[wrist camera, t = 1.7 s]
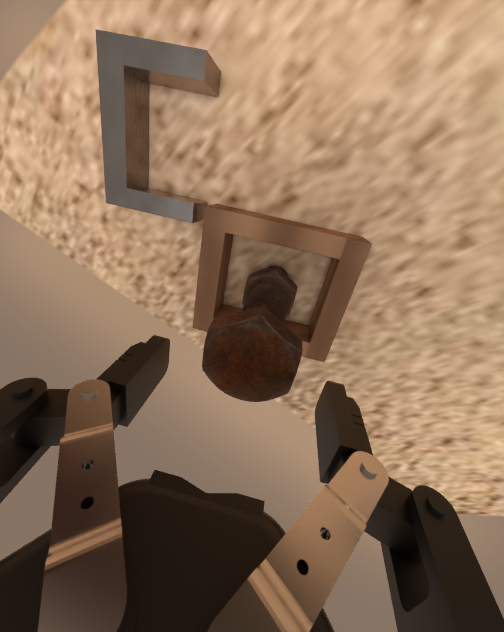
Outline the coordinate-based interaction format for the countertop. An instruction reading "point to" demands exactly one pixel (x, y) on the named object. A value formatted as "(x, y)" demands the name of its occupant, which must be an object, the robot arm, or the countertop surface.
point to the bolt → (255, 341)
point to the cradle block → (144, 115)
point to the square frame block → (337, 245)
